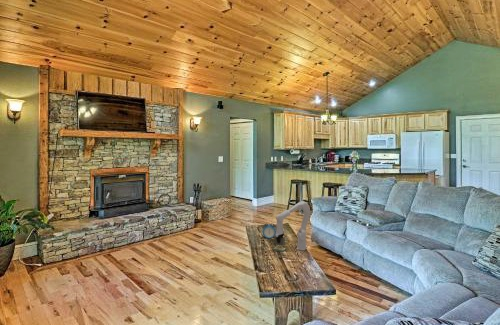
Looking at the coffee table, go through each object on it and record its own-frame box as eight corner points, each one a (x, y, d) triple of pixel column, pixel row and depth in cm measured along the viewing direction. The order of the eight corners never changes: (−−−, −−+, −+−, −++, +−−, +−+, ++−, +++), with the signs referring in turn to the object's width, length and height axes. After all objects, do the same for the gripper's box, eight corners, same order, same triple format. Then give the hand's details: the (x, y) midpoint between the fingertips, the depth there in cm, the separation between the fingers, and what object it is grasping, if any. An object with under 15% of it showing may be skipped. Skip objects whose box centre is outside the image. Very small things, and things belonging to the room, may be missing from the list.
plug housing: (272, 241, 268) (272, 235, 267) (284, 244, 262) (284, 237, 262) (270, 243, 264) (270, 236, 264) (283, 245, 258) (283, 238, 258)
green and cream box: (276, 247, 268) (276, 242, 268) (286, 249, 264) (286, 244, 263) (272, 250, 261) (272, 244, 261) (283, 251, 257) (283, 246, 256)
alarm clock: (262, 238, 294) (262, 224, 293) (262, 236, 300) (262, 222, 300) (275, 238, 294) (275, 224, 293) (275, 236, 300) (275, 222, 299)
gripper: (278, 225, 270) (278, 239, 270) (272, 229, 257) (272, 244, 258) (285, 226, 266) (285, 240, 267) (279, 230, 254) (279, 245, 254)
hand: (279, 242), depth 262 cm, fingers closed on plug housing, 4 cm apart
